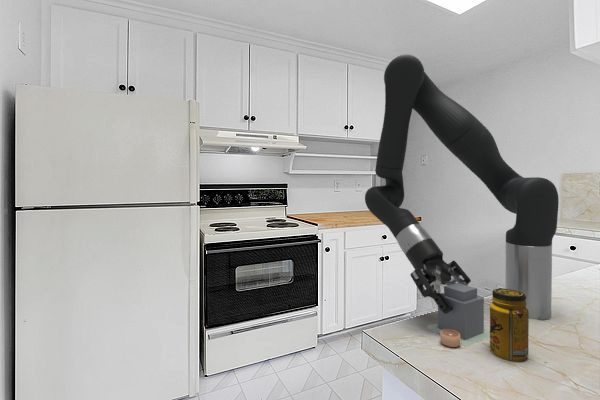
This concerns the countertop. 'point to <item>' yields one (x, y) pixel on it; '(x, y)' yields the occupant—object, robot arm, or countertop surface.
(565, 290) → the countertop surface
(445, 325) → the grey stepped block
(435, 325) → the mat
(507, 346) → the condiment
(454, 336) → the bowl
